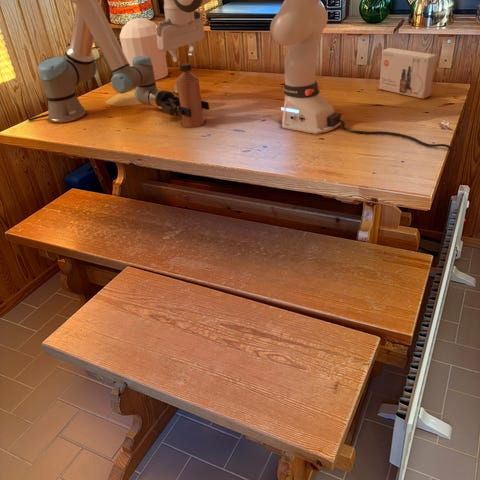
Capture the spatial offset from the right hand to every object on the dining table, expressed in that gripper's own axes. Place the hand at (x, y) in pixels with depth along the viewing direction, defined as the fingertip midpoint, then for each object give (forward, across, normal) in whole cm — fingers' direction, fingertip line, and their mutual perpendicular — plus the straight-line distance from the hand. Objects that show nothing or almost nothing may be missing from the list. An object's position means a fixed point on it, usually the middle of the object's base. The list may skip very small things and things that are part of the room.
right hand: (183, 58), depth 166 cm
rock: (+25, +27, +31) cm, 48 cm away
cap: (+2, 0, 0) cm, 2 cm away
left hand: (+18, 0, -5) cm, 19 cm away
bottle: (+24, 0, 0) cm, 24 cm away
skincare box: (+23, +66, -56) cm, 90 cm away
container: (+25, +39, +71) cm, 84 cm away
